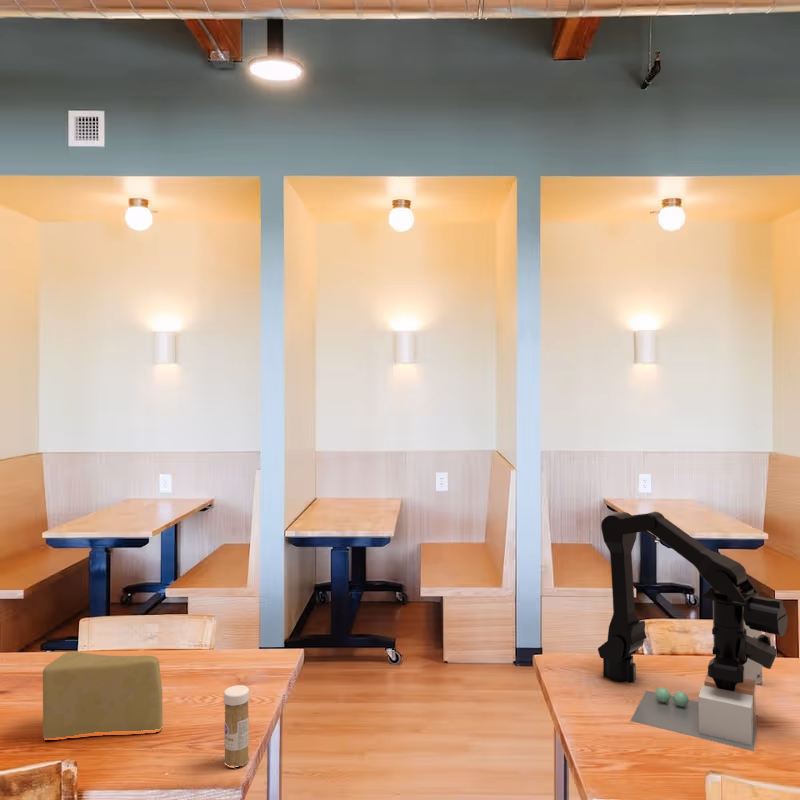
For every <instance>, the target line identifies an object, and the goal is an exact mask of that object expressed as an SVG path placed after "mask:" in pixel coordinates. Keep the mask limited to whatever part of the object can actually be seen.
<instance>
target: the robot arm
mask: <svg viewBox="0 0 800 800" xmlns="http://www.w3.org/2000/svg"><path fill="white" fill-rule="evenodd" d="M600 524H601V525H600V530H601V534H602V538H603V542H604V543H605V546H606V547H607V549H608V551H609V554H610V555H609V556H610V570H611V571H610V573H611V576H610V577H611V590H612V591H611V592H612V608H613V615H612V617H611V619H610V621H609V622H610V623H609V625H608V632H607V641H605V642H604V643H603V644H601V645H600V646H599V647H597V652H598V656H599V658H600V659H603V660H602V669H603V671H602V672H603V675H602V677H603V678H606V679H608V680H609V681H612V682H615V683H629V684H630V683H632V684H633V683H635V681H636V680H637V664H636V663H635V662H634V655H636V654H637V652H638V649H640V648H642V646H643V645H644V642H645V639H647V635H646V621H645V620H640V619H639V617H638V615H637V614H636V609H635V607H636V605H635V593H634V591H635V590H634V575H633V574H634V573H633V558H632V556H633V555H632V551H633V548H634V545H635V543H636V541H637V533H641V532H649V533H651V534H652V535H653V536H655V537H656V538H657V539H659V540H660V541H661V542H663V543H664V544H665V545H667V546H668V547H669V548H670V549H672V550H674V552H676V553H677V554H678V555H680V556H681V557H682V558H684V559H685V560H686V561H688V562H689V563H691V564H692V565H693V567H695V568H696V569H697V571H698V573H699V574H700V576H701V578H702V579H703V580H704V581H705V582H706V583H707V584H708V585H710V587H709V588H708V590H707V591H706V592H705V593H703V594H702V595H701V598H702V599H703V600H704V599H705V600H711V601H712V623H713V624H712V629H711V634H712V635H713V636H712V637H713V638H712V639H713V647H712V655H713V656H714V655H715V657H713V658H711V659H710V660H709V662H708V665H707V672H708V676H709V677H711V678H713V680H714V682H715V684H716V686H717V688H719V689H723V690H728V691H733V692H734V691H735V686H736V684H738V683H743V682H744V666H743V665H744V664H745V663H746V662H747V658H749V659H751V660H753V661H755V662H757V663H759V664H761V665H762V668H765V669H768V670H770V669H771V668H772V666H773V664H774V662H775V659H776V658H777V655H778V654H777V651H778V650H777V648H776V646H775V645H772V644H771V638H770V636H768V635H766V634H762V635H760V636H759V637H757V638H756V637H753V638H752V637H750V636H748V635H747V629H745V627H744V622H745V625H746V626H749V628H750V629H753V630H757V631H761V632H762V633H767V634H771V635H774V636H778V637H784V635H785V634H786V631H787V628H788V620H789V619H788V617H789V616H788V614H787V611H786V608H785V606H784V600H783V599H779V598H771V597H770V598H768V597H764V596H760V593H759V592H758V590H757V588H756V587H755V586H754V585H753V584H752V581H750V579H749V578H748V575H747V572H746V568H745V567H744V566H743V565H742V563H740V562H738V561H736V560H734V559H733V558H730V557H728V556H727V555H725V554H721V553H719V552H715V551H713V550H711V549H710V548H707V547H706V546H704V545H703V544H702V543H701V542H699V541H698V540H696V538H694V537H692V536H691V535H689V534H688V533H687V532H685V531H684V530H682V529H681V528H680V527H678V526H677V525H676V524H674V523H672V521H670V520H669V519H668V518H666V517H665V516H664V515H663V514H662V513H660V512H659V511H652V512H651V511H650V512H647V513H642V514H641V513H639V514H633V515H632V514H630V513H628V512H623V511H622V512H618V513H614V514H609V515H607V516H605V517H604V518H603V520H601V523H600ZM740 590H741V591H740Z"/></svg>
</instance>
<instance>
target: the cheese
mask: <svg viewBox="0 0 800 800" xmlns="http://www.w3.org/2000/svg"><path fill="white" fill-rule="evenodd" d="M162 686H163V685H162V678H161V667H160V659H159V658H158V657H157V656H155V655H107V654H106V655H103V654H96V653H90V652H89V653H88V652H79V651H67V652H64V653H63V654H61V655H60V656H59V657H57V658H56V659H54V660H53V661H51V662H50V663H49V664H47V665H46V666H44V668H43V671H42V739H43V738H56V737H66V736H74V735H79V734H86V733H87V734H88V733H94V732H110V731H111V732H112V731H141V730H142V731H143V730H155V729H160V728H161V727H162V726H163V725H164V724H163V687H162Z"/></svg>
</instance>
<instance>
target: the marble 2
mask: <svg viewBox="0 0 800 800" xmlns="http://www.w3.org/2000/svg"><path fill="white" fill-rule="evenodd" d="M672 696H673V700H674V702H675V703H676V705H678V706H680V707H684V706H686V705H687V704H688V702H689V700H690V699H689V696H688V695H687V694H686V693H685V692H684V691H679V690H678V691H676V692H675V693H674V694H673V695H672Z"/></svg>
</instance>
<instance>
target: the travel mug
mask: <svg viewBox="0 0 800 800" xmlns="http://www.w3.org/2000/svg"><path fill="white" fill-rule="evenodd" d="M744 627H745V629H747V635H748V636H750V637H752V638H753V637H756V638H757V637H759V636H760V635H762V633H763V632H761V631H757V630H753V629H750V628H749V626H746V625H745V622H744ZM743 666H744V678H747V679H752V680H756V686H761V687H762V686H763V666H762V665H761V664H759V663H757V662H755V661H753V660H751V659H749V658H747V662H746V663H745V664H744V665H743Z"/></svg>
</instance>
